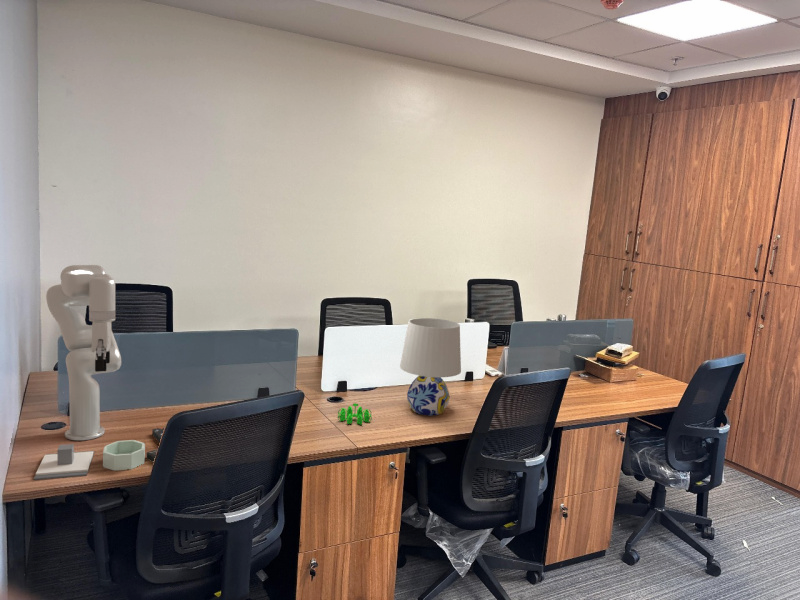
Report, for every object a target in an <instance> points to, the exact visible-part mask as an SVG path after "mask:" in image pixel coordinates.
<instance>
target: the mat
mask: <svg viewBox="0 0 800 600" xmlns="http://www.w3.org/2000/svg"><path fill="white" fill-rule="evenodd" d="M91 451H93V454H94V455H95V450H87V451H86V450H85V451H84V450H83V452H91ZM77 452H78V451H74V453H77ZM50 454H51V453H46V454H45V455H50ZM54 454H57V453H54ZM94 455H93V456H92V459H91V462H90V465H89V469H90V466H91V463H92V460H93V457H94ZM89 469H88V471H83V472H71V473H59V474H47V475H36V474H35V475H34V478H33V481H37V480H38V481H39V480H52V479H61V478H62V479H64V478H73V477H74V478H75V477H76V478H77V477H86V476H87V475H88V473H89Z"/></svg>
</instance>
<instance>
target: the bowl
mask: <svg viewBox="0 0 800 600" xmlns="http://www.w3.org/2000/svg"><path fill="white" fill-rule="evenodd" d="M145 451H146V442H142V441H138V440H135V439H129V440H116V441H114V442H112V443H110V444H107V445H104V448H103V451H102V467H103V468H104V469H108V470H111V471H115V472H116V471H127V469H129V470H133V469H135V468H137V466H138V467H139V465H140V466H142V465H145V459H146V452H145ZM141 464H142V465H141Z"/></svg>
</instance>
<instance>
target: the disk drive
mask: <svg viewBox="0 0 800 600" xmlns="http://www.w3.org/2000/svg"><path fill="white" fill-rule="evenodd" d="M163 430H164V427H163V428H159V427H158V428H152V431H151V432H152V436H153V437H154V438H155V440H156V439H157V440H156V441H157V442H158V443H159V442H160V439H161V436H162V433H163Z"/></svg>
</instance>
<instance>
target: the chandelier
mask: <svg viewBox="0 0 800 600" xmlns="http://www.w3.org/2000/svg"><path fill="white" fill-rule="evenodd" d="M358 406H359V404H358V403H355V402H354V403H352V406H351V405H349V406H348V407H347V408H345V407H341V408H339V409H338V411H337V420H338V421H339V422H345V421H346V424H347V425H348V424H349V425H350V424H352V423H353V419H354V418H356V423H357V424H358V425H359V426H362V425H363V422H364V421H365V422H364V423H370V422H371V421H372V420H373V419H372V418H373V417H372V411H371V410H370V409H367V408H366V409H363V407H362V406H359V407H358ZM352 407H354V410H353V408H352ZM357 407H358V408H357ZM356 409H357V410H356ZM353 411H354V413H353ZM345 417H346V418H345ZM344 420H345V421H344Z"/></svg>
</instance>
